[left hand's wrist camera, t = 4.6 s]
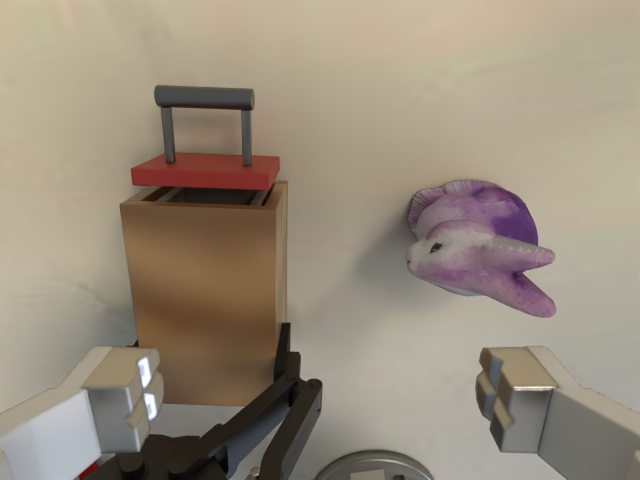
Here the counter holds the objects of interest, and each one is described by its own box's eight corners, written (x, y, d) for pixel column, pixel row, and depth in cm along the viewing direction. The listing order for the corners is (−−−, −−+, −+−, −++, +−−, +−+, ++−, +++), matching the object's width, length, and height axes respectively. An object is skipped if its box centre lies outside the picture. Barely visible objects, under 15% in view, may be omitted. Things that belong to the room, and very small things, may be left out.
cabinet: (165, 176, 37) (119, 204, 29) (287, 180, 37) (276, 210, 29) (181, 340, 43) (146, 403, 35) (286, 344, 43) (276, 408, 35)
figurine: (379, 210, 38) (411, 286, 24) (482, 147, 36) (583, 190, 22) (429, 288, 41) (484, 398, 27) (528, 234, 39) (644, 321, 25)
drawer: (160, 83, 34) (119, 84, 27) (279, 88, 34) (268, 90, 27) (181, 314, 41) (153, 359, 35) (279, 318, 41) (270, 364, 35)
